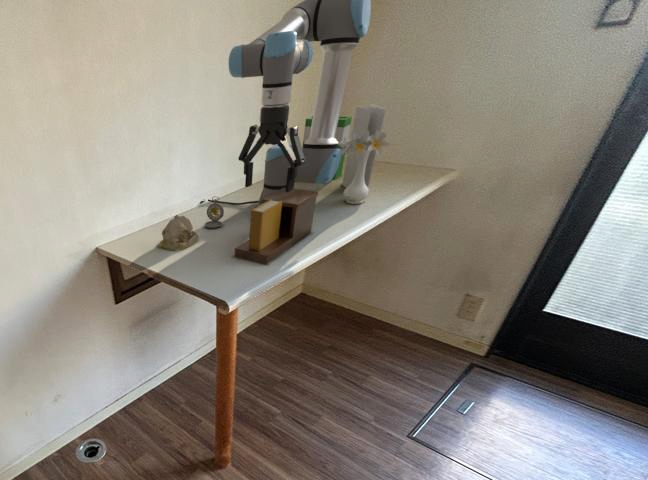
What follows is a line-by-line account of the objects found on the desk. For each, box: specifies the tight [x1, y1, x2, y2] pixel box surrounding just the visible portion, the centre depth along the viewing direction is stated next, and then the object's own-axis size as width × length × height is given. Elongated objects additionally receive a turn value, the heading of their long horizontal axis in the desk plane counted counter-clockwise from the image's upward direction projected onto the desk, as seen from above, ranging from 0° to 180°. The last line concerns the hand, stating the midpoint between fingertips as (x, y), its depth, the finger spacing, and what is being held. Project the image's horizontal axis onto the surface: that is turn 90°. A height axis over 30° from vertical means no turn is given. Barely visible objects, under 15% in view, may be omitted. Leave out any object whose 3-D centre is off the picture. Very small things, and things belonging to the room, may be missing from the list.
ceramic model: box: [158, 214, 199, 251], centre depth 147 cm, size 14×11×10 cm
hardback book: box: [301, 115, 353, 180], centre depth 191 cm, size 18×7×24 cm, turn 50°
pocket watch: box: [204, 196, 225, 229], centre depth 158 cm, size 8×8×10 cm
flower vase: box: [338, 130, 390, 205], centre depth 159 cm, size 13×18×25 cm
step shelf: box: [234, 188, 319, 266], centre depth 137 cm, size 13×30×14 cm, turn 137°
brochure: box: [341, 103, 387, 189], centre depth 170 cm, size 14×6×30 cm, turn 179°
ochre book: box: [248, 199, 282, 251], centre depth 132 cm, size 4×12×12 cm, turn 137°
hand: (268, 188), depth 125 cm, fingers open, 13 cm apart
